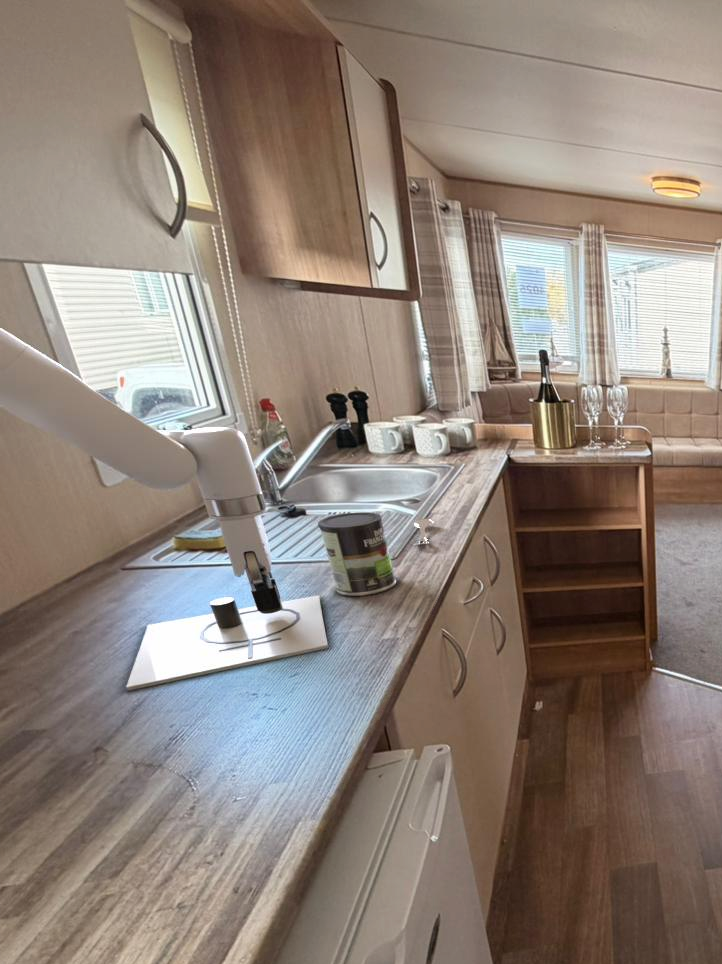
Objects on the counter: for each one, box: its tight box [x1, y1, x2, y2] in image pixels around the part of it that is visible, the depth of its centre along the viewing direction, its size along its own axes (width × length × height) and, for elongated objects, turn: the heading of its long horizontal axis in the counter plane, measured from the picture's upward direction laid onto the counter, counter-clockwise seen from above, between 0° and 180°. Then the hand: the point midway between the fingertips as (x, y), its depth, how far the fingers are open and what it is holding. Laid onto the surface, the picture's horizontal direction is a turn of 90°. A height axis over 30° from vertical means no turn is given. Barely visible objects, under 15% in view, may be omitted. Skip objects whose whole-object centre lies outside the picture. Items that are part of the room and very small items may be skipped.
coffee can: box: [317, 511, 397, 597], centre depth 126 cm, size 10×10×14 cm
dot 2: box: [261, 584, 283, 614], centre depth 112 cm, size 3×3×4 cm
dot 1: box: [209, 597, 242, 629], centre depth 109 cm, size 3×3×4 cm
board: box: [125, 594, 329, 692], centre depth 107 cm, size 24×24×1 cm
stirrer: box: [411, 518, 434, 546], centre depth 155 cm, size 20×4×5 cm
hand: (269, 604), depth 113 cm, fingers closed on dot 2, 3 cm apart
